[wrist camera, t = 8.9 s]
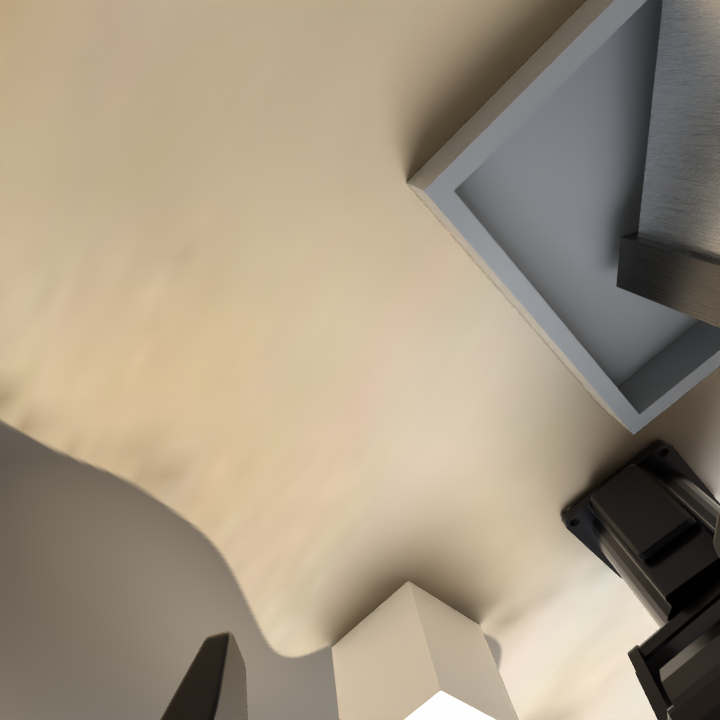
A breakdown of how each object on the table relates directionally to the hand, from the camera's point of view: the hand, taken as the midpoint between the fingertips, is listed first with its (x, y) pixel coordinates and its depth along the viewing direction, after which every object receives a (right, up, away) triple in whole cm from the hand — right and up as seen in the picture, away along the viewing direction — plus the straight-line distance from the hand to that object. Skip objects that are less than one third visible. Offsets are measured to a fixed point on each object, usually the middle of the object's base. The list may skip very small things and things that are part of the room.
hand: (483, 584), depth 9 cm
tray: (+9, +11, +11) cm, 18 cm away
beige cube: (0, -11, +20) cm, 23 cm away
